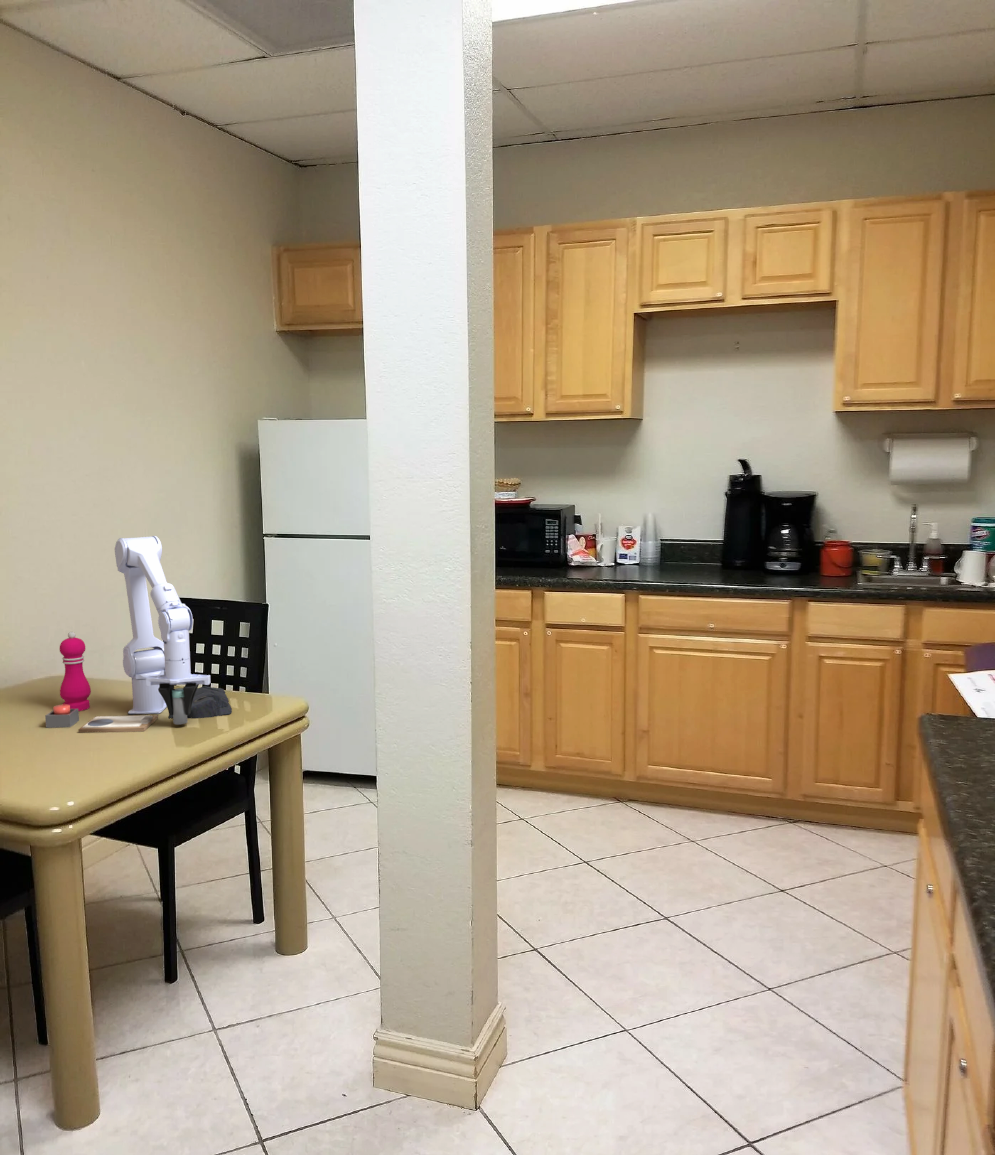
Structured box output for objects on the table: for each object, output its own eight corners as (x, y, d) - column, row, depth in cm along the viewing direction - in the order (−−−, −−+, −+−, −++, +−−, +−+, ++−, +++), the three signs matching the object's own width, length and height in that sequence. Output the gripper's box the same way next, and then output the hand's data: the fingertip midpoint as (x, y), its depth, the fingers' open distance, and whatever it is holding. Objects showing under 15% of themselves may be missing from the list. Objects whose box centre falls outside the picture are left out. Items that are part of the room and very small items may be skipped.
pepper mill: (54, 711, 236) (49, 633, 234) (73, 704, 243) (68, 628, 241) (79, 713, 235) (74, 635, 232) (98, 705, 242) (93, 629, 239)
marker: (175, 720, 225) (173, 688, 223) (189, 720, 225) (187, 687, 224) (171, 724, 221) (169, 691, 220) (185, 724, 221) (184, 691, 220)
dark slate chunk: (232, 696, 253) (232, 679, 252) (232, 718, 232) (231, 699, 231) (173, 700, 249) (172, 682, 248) (166, 722, 228) (165, 703, 227)
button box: (55, 721, 228) (54, 709, 227) (79, 720, 228) (78, 708, 228) (46, 727, 222) (45, 715, 222) (70, 727, 223) (69, 715, 222)
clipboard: (95, 719, 229) (95, 713, 229) (158, 718, 230) (157, 711, 230) (78, 732, 218) (78, 726, 218) (144, 731, 219) (143, 724, 219)
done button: (57, 712, 227) (56, 704, 226) (72, 712, 227) (72, 704, 227) (51, 716, 223) (50, 708, 223) (66, 716, 223) (66, 708, 223)
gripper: (140, 662, 216) (143, 719, 218) (204, 661, 217) (206, 718, 219) (149, 656, 223) (152, 711, 225) (211, 655, 224) (213, 710, 226)
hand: (180, 714), depth 223 cm, fingers closed on marker, 3 cm apart
